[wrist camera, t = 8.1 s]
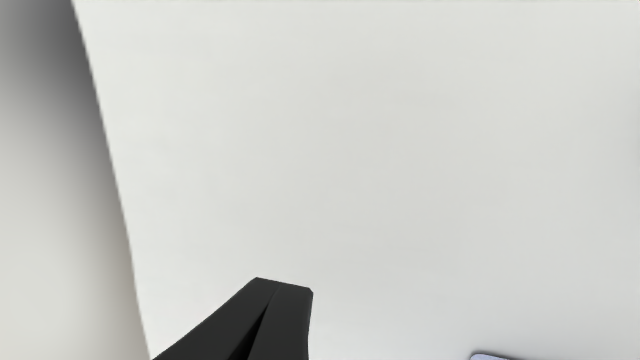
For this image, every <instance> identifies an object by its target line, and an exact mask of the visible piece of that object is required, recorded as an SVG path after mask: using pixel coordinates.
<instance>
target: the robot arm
mask: <svg viewBox="0 0 640 360" xmlns="http://www.w3.org/2000/svg"><path fill="white" fill-rule="evenodd" d="M312 300H313V292H312V291H311V290H310V288H308V287H303V286H298V285H293V284H288V283H283V282H278V281H273V280H268V279H263V278H258V277H256V278H254V279H252V280H251V281H250V282H249V283H247V284H246V285H245V286H244V287H243V288H242V289H241V290H239V291H238V292H237V293H236V294H235V295H234V296H233V297H231V298H230V299H229V300H228V301H227V302H226V303H224V304H223V305H222V306H221V307H220V308H218V309H217V310H216V311H215V312H214V313H213V314H211V315H210V316H209V317H208V318H206V319H205V320H204V321H203V322H201V323H200V324H199V325H198V326H196V327H195V328H194V329H193V330H191V331H190V332H189V333H187V334H186V335H185V336H184V337H182V338H181V339H180V340H179V341H177V342H176V343H175V344H173V345H172V346H170V347H169V348H168V349H166V350H165V351H164V352H162V353H161V354H159V355H158V356H157V357H155V358H154V359H152V360H309V357H308V332H309V324H310V316H311V308H312ZM470 360H508V359H503V358H498V357H494V356H489V355H484V354H476V355H474V356H472V357H471V359H470Z"/></svg>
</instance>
